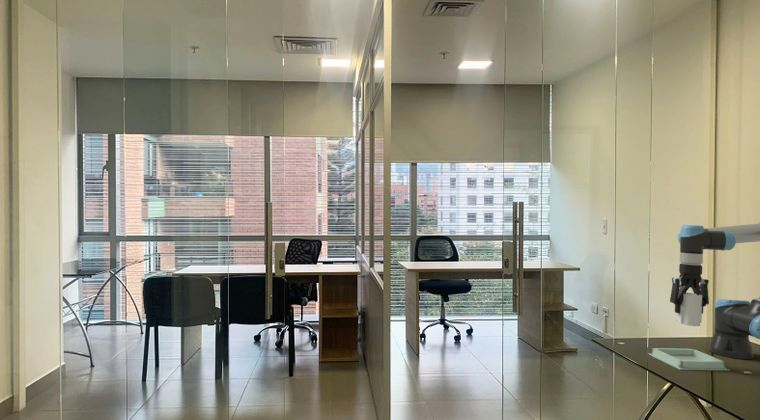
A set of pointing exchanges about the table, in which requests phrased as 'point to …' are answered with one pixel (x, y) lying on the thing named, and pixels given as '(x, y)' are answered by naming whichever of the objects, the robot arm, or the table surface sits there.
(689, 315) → the mug
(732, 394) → the table surface
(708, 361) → the tray
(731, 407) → the table surface
